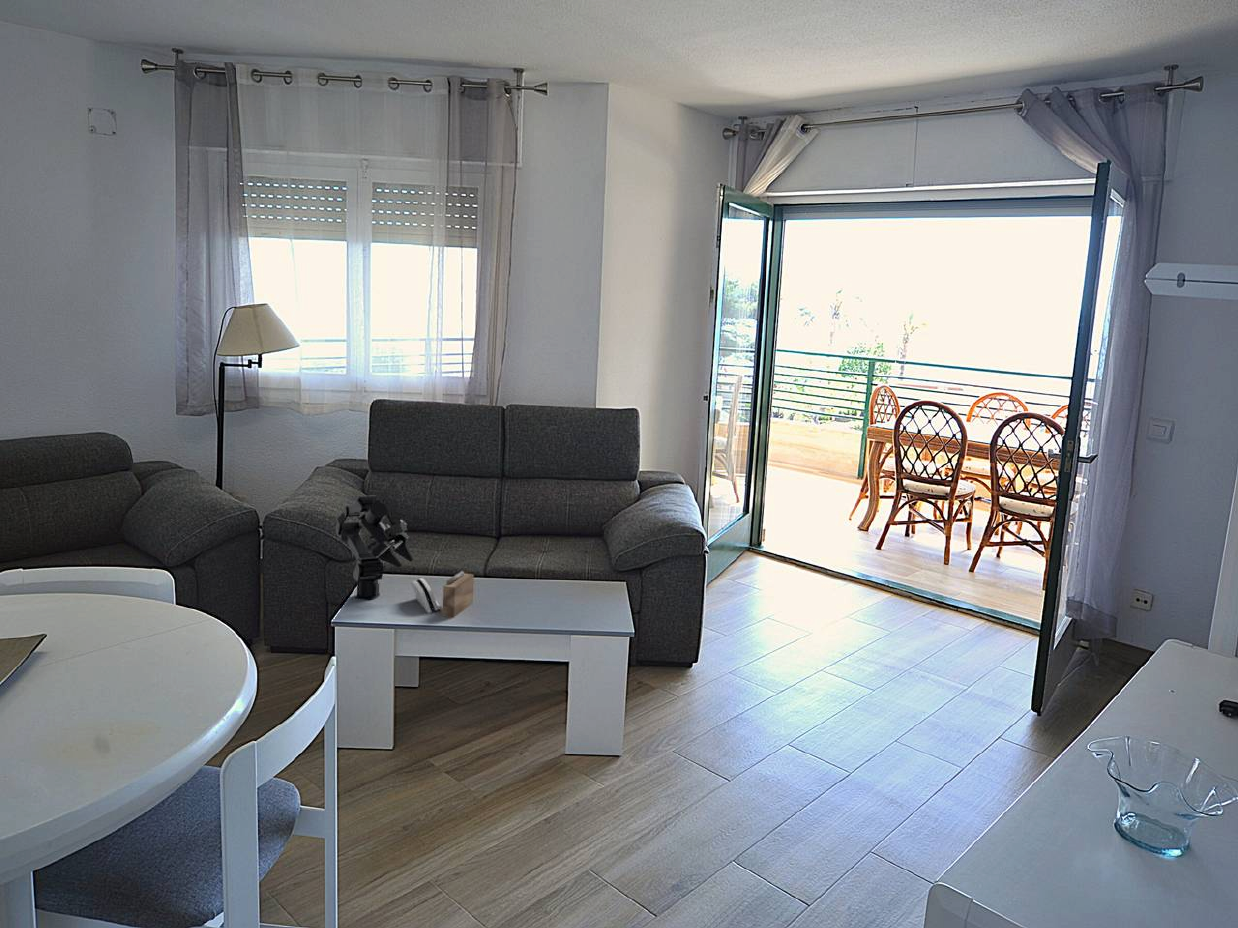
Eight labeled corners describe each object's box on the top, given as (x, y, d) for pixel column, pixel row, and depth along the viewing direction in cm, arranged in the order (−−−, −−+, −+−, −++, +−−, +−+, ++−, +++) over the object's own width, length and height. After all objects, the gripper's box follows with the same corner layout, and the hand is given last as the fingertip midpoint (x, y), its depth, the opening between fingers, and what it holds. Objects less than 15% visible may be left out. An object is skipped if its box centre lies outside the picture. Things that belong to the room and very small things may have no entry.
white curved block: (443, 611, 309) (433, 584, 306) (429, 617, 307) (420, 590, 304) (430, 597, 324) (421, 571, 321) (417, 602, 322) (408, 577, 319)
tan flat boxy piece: (441, 615, 305) (442, 581, 303) (460, 601, 321) (461, 569, 320) (453, 617, 304) (455, 583, 302) (472, 602, 320) (473, 570, 319)
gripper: (380, 517, 304) (411, 554, 303) (403, 508, 322) (433, 543, 322) (357, 539, 306) (388, 575, 306) (382, 529, 325) (411, 563, 324)
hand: (406, 563), depth 314 cm, fingers open, 9 cm apart
